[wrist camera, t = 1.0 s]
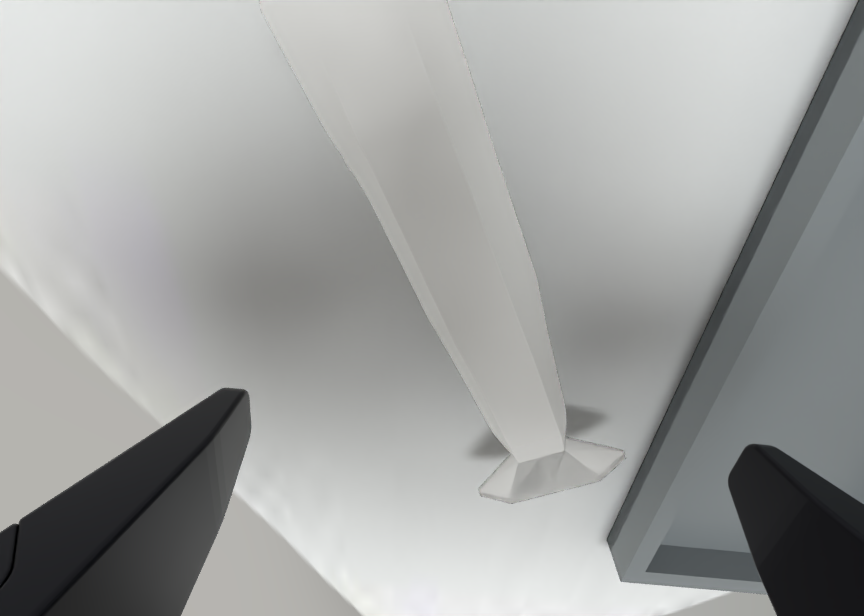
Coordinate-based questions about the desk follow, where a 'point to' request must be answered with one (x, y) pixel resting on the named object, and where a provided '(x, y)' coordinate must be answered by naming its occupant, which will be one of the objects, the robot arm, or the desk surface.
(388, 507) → the desk surface
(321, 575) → the desk surface
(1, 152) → the desk surface
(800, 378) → the razor tray
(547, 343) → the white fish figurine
